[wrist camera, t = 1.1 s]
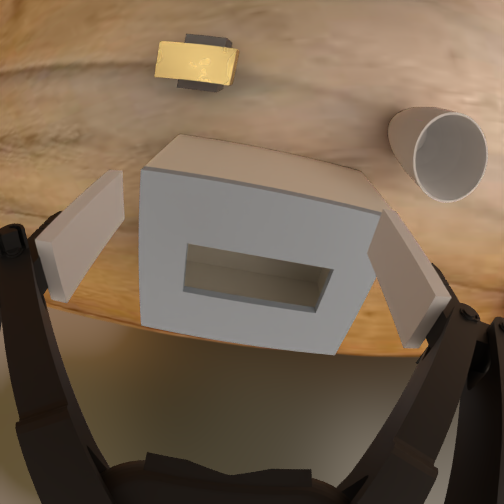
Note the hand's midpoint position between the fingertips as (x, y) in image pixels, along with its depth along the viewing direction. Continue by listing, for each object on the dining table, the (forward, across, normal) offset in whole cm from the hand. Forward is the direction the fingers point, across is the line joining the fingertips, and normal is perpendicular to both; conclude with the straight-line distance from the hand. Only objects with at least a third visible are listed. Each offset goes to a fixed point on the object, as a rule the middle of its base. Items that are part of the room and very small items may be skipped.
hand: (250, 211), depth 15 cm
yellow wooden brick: (+14, -6, +6) cm, 17 cm away
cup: (+20, +16, +3) cm, 26 cm away
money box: (+19, +1, -10) cm, 21 cm away
